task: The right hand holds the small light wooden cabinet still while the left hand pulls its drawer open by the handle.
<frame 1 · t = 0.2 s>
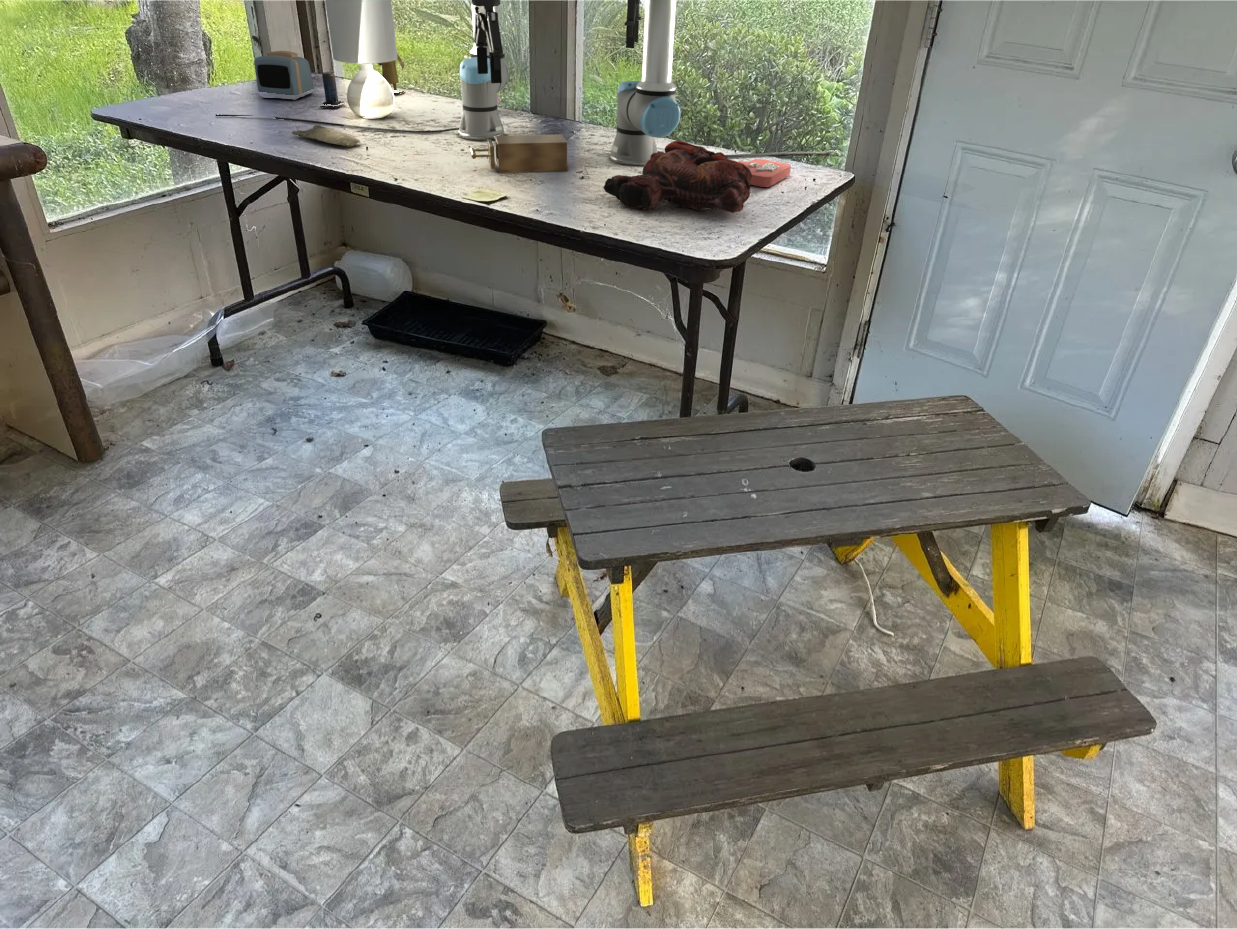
left hand: (632, 44, 280), 28 cm above the table, tool pointing down, fingers open, 13 cm apart
right hand: (489, 78, 227), 28 cm above the table, tool pointing down, fingers open, 13 cm apart
lamp: (372, 116, 307), on the table
beverage can: (332, 107, 318), on the table
cabinet: (531, 167, 258), on the table
stone tool: (329, 140, 276), on the table
plaque: (756, 178, 255), on the table
figurine: (394, 94, 340), on the table
sculpture: (676, 205, 231), on the table
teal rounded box: (287, 96, 330), on the table
toy character: (484, 111, 320), on the table
drawer: (512, 153, 254), point 4 cm above the table, slide at 1.1 cm
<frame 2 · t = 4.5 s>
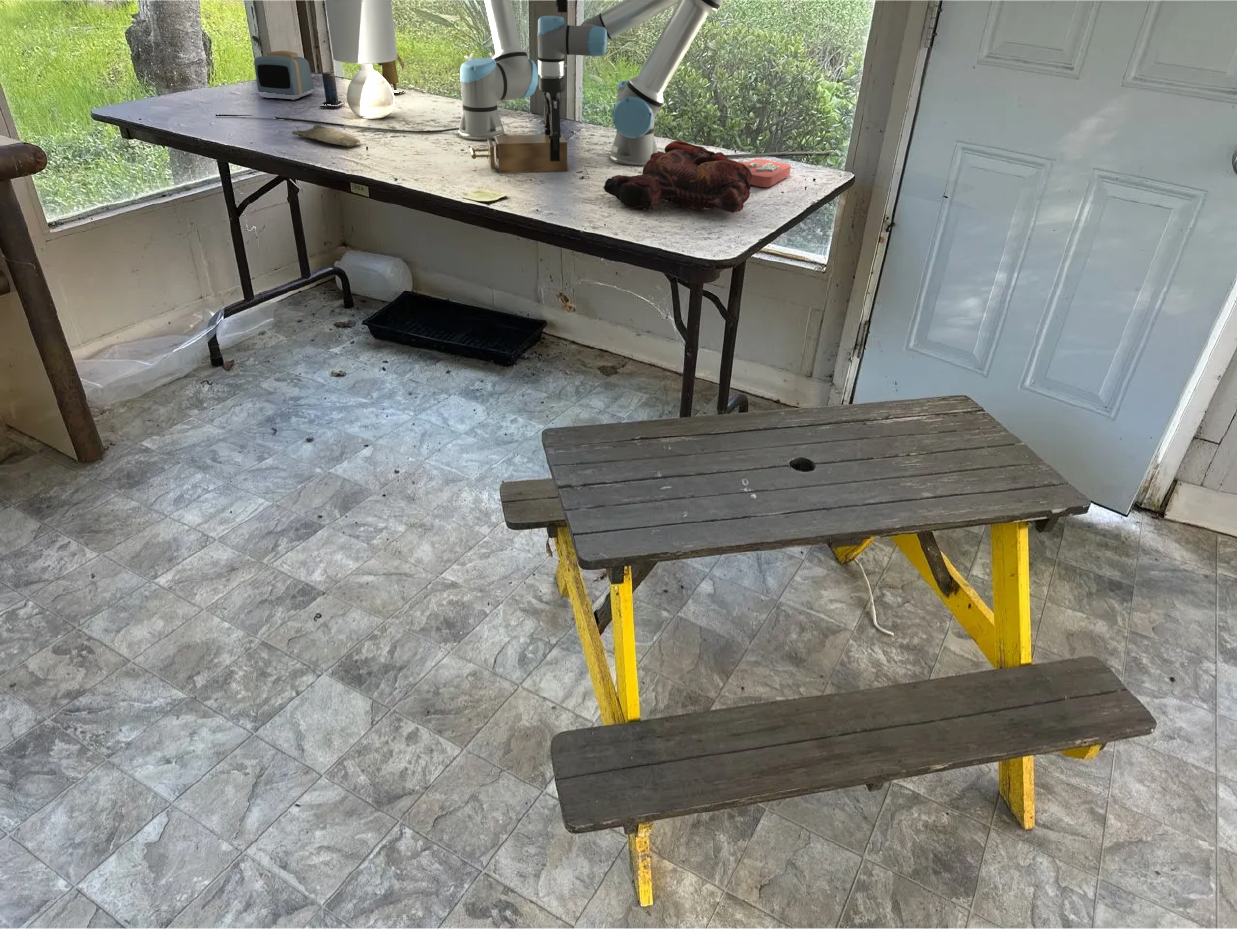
left hand: (561, 9, 253), 41 cm above the table, tool pointing down, fingers open, 13 cm apart
right hand: (552, 155, 257), 3 cm above the table, tool pointing down, fingers closed on cabinet, 10 cm apart
cabinet: (531, 167, 258), on the table, touching right hand
everything else where it was.
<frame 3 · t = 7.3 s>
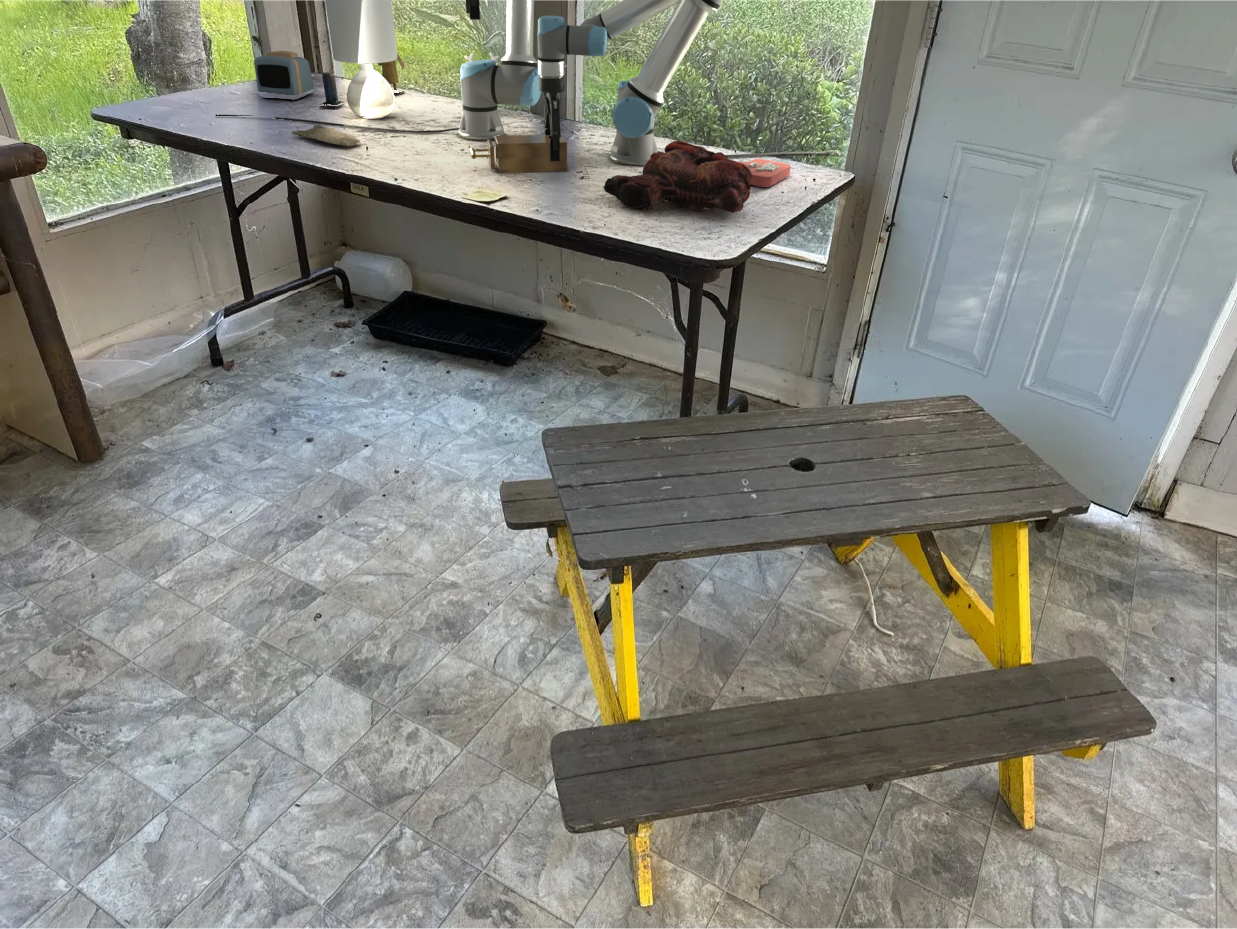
left hand: (473, 16, 232), 41 cm above the table, tool pointing down, fingers open, 13 cm apart
right hand: (552, 155, 257), 3 cm above the table, tool pointing down, fingers closed on cabinet, 10 cm apart
cabinet: (531, 167, 258), on the table, touching right hand
everything else where it was.
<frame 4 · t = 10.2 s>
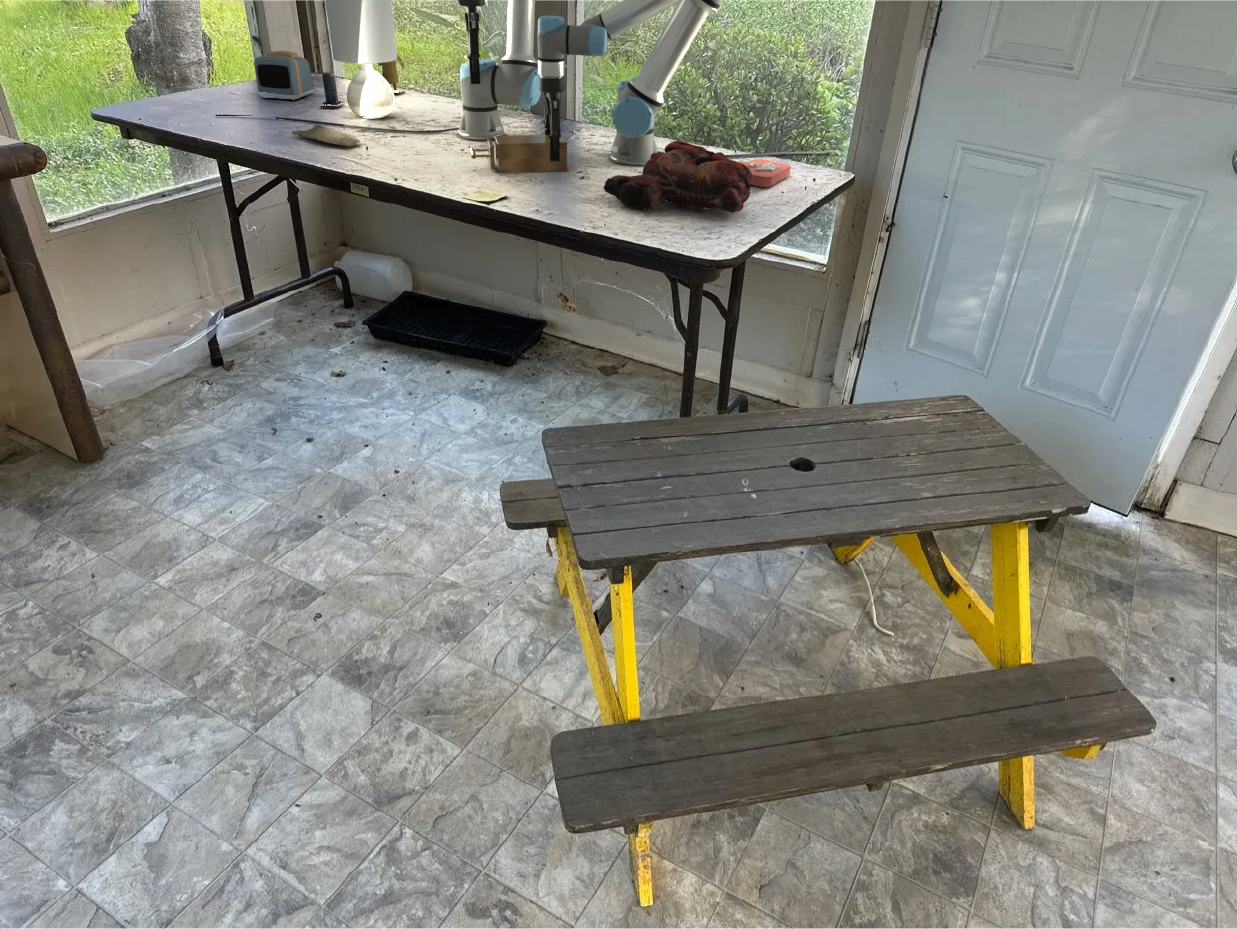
left hand: (475, 83, 241), 24 cm above the table, tool pointing down, fingers closed
right hand: (552, 155, 257), 3 cm above the table, tool pointing down, fingers closed on cabinet, 10 cm apart
cabinet: (531, 167, 258), on the table, touching right hand
everything else where it was.
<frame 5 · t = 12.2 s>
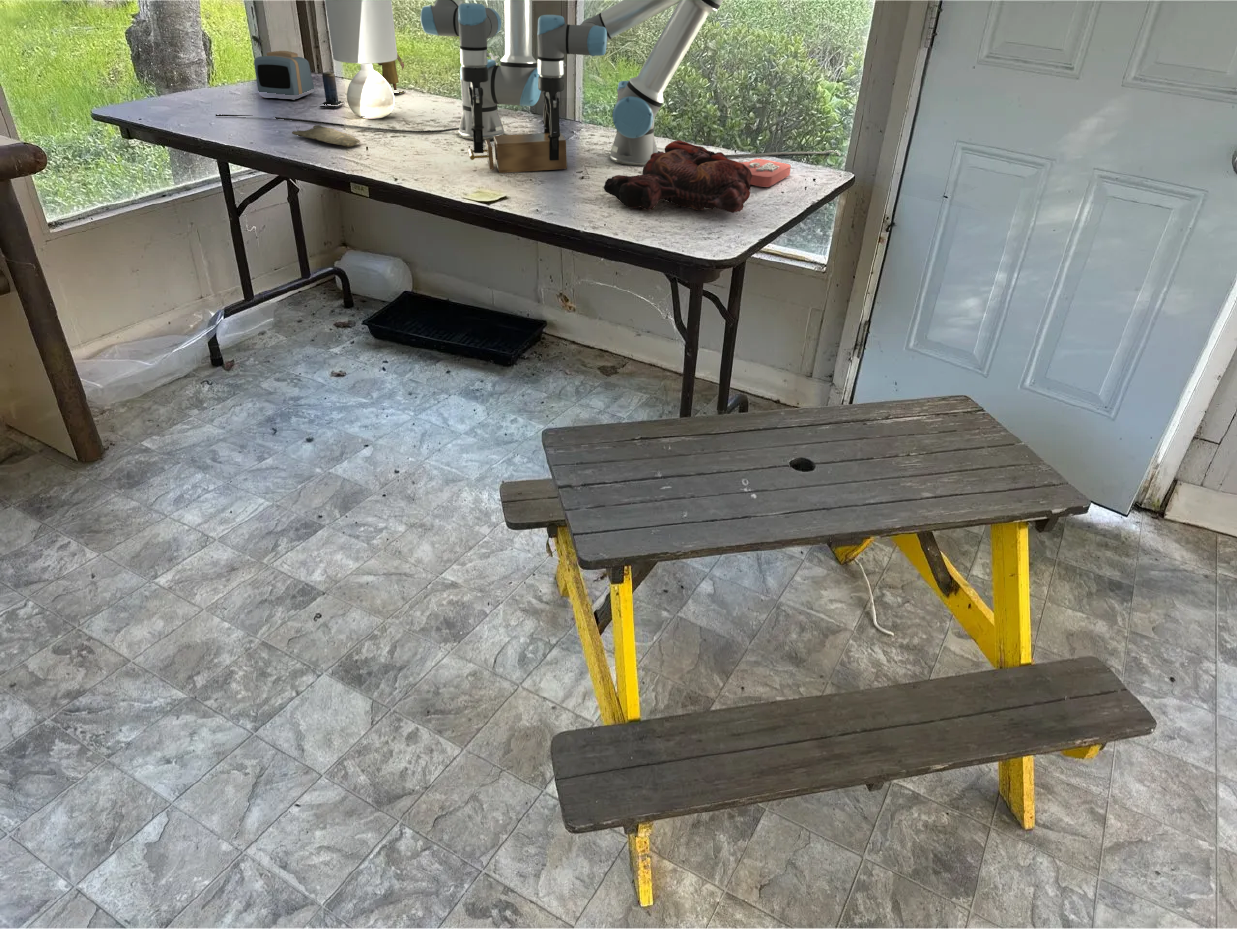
left hand: (478, 152, 252), 5 cm above the table, tool pointing down, fingers closed
right hand: (551, 155, 257), 3 cm above the table, tool pointing down, fingers closed on cabinet, 10 cm apart
cabinet: (531, 166, 258), on the table, touching right hand
everything else where it was.
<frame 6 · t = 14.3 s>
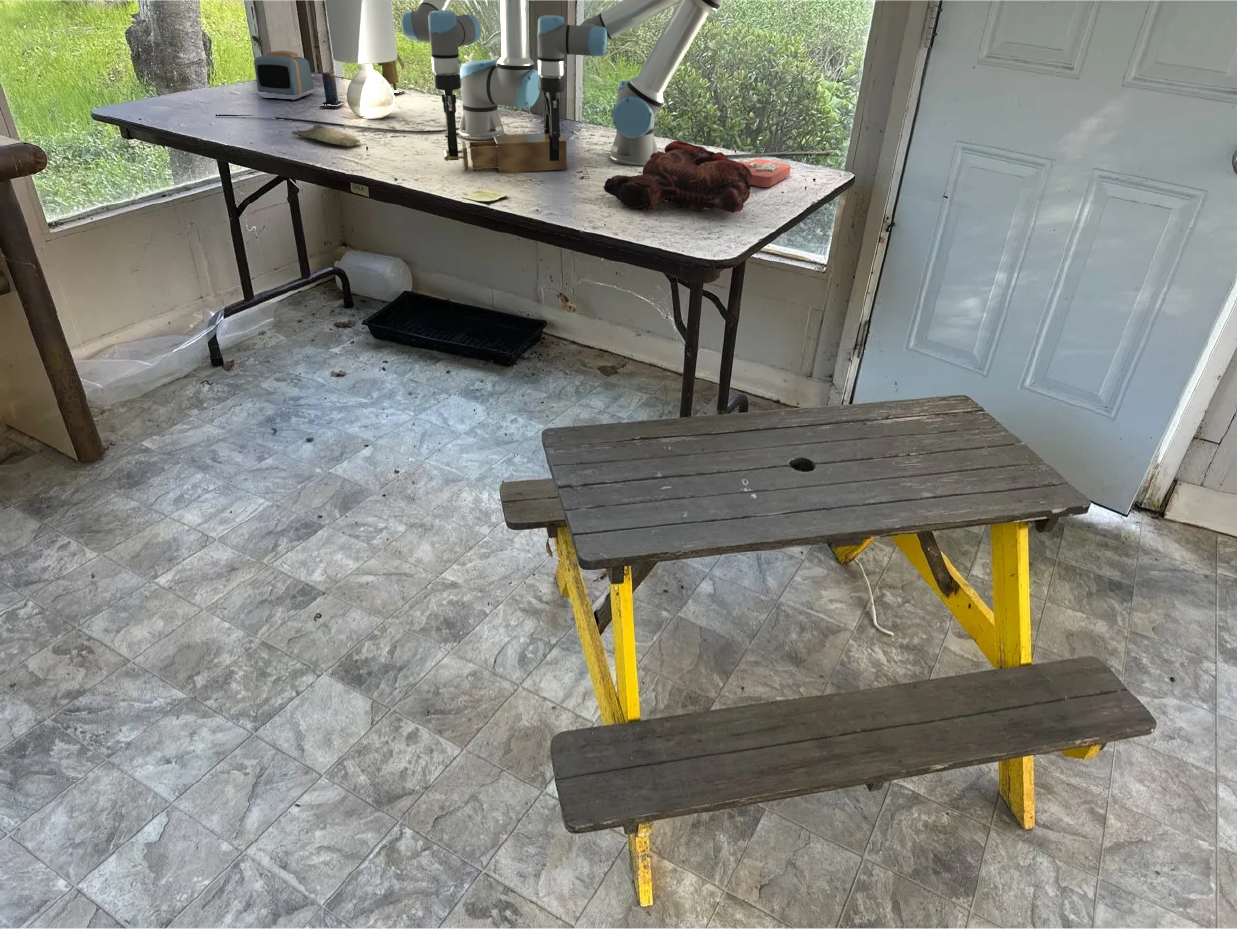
left hand: (453, 159, 252), 3 cm above the table, tool pointing down, fingers closed
right hand: (551, 155, 257), 3 cm above the table, tool pointing down, fingers closed on cabinet, 10 cm apart
cabinet: (531, 166, 258), on the table, touching right hand
drawer: (486, 154, 253), point 4 cm above the table, slide at 8.8 cm, touching left hand
everything else where it was.
when the right hand's fingers open (3 cm above the table, at t = 16.1 s): cabinet stays where it is, on the table.
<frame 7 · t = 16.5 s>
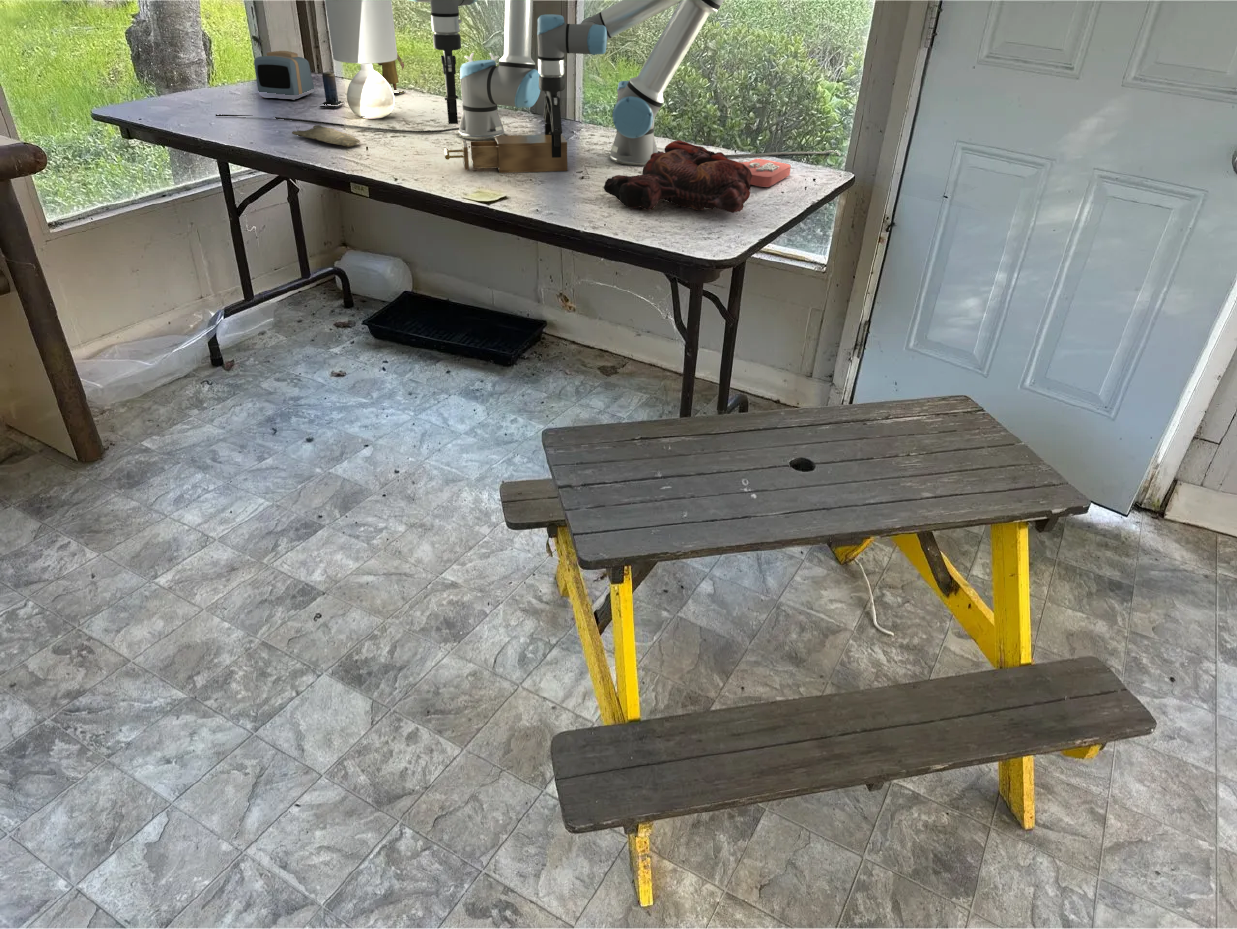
left hand: (453, 123, 246), 13 cm above the table, tool pointing down, fingers closed
right hand: (553, 151, 256), 5 cm above the table, tool pointing down, fingers open, 13 cm apart
cabinet: (531, 167, 258), on the table
drawer: (486, 154, 253), point 4 cm above the table, slide at 8.8 cm
everything else where it was.
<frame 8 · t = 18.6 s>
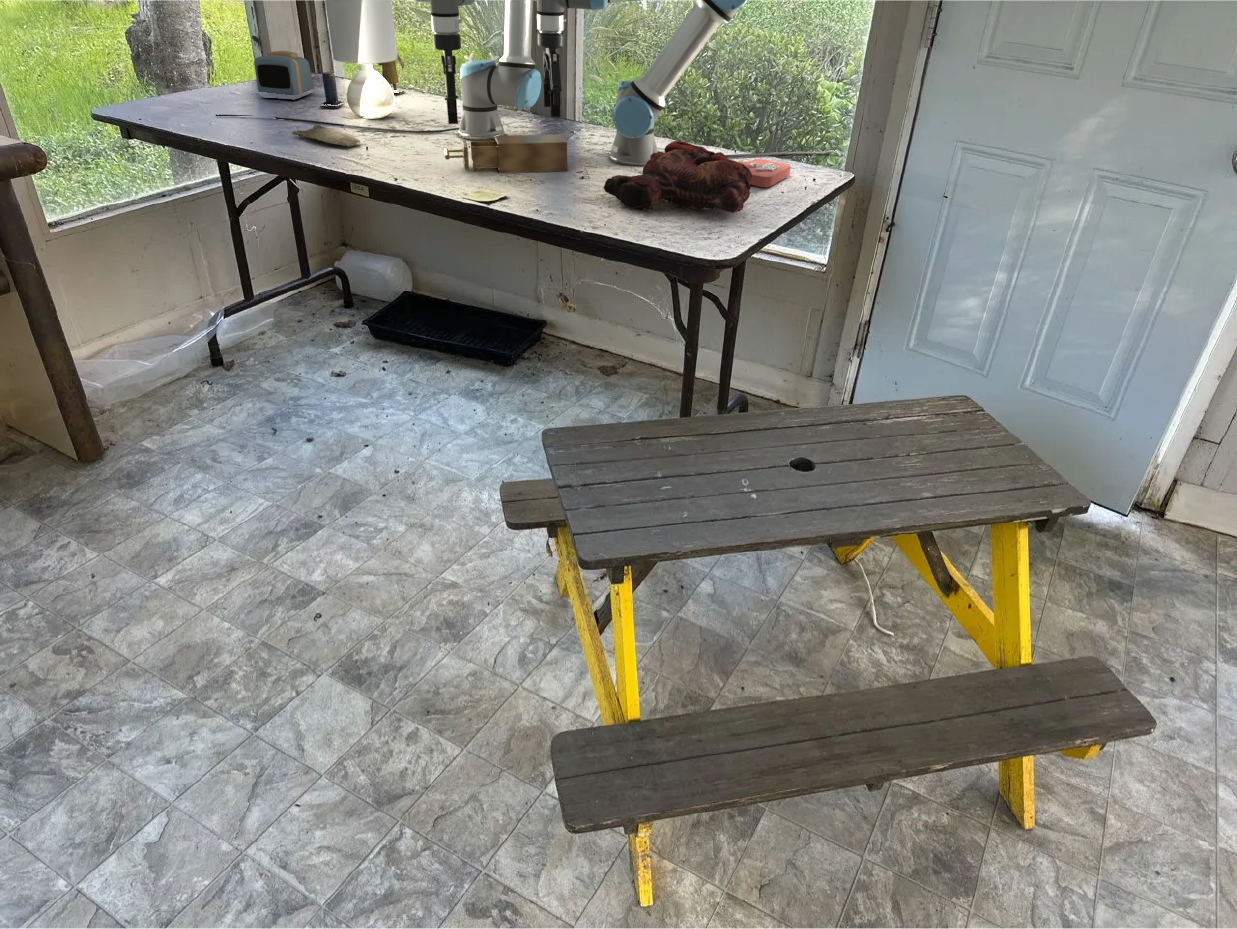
left hand: (453, 123, 246), 13 cm above the table, tool pointing down, fingers closed
right hand: (552, 111, 250), 16 cm above the table, tool pointing down, fingers open, 13 cm apart
nothing on the table moved.
at the end: drawer slide at 8.8 cm; cabinet tilted 0°; cabinet never tilted more than 2° during the clip; cabinet moved 0.0 cm from its start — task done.
